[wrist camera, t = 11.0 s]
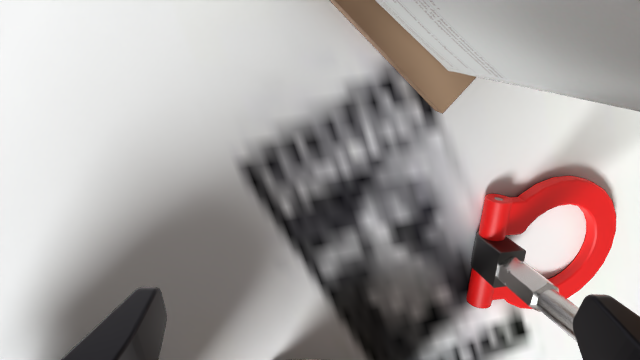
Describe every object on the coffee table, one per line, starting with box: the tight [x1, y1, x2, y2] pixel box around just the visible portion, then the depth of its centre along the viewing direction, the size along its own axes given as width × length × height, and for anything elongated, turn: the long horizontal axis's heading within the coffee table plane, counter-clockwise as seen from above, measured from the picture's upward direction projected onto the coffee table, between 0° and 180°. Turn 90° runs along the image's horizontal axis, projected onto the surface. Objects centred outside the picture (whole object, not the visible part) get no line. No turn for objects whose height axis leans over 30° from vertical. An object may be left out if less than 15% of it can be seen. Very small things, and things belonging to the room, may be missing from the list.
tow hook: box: [466, 175, 616, 342], centre depth 20 cm, size 8×13×9 cm
